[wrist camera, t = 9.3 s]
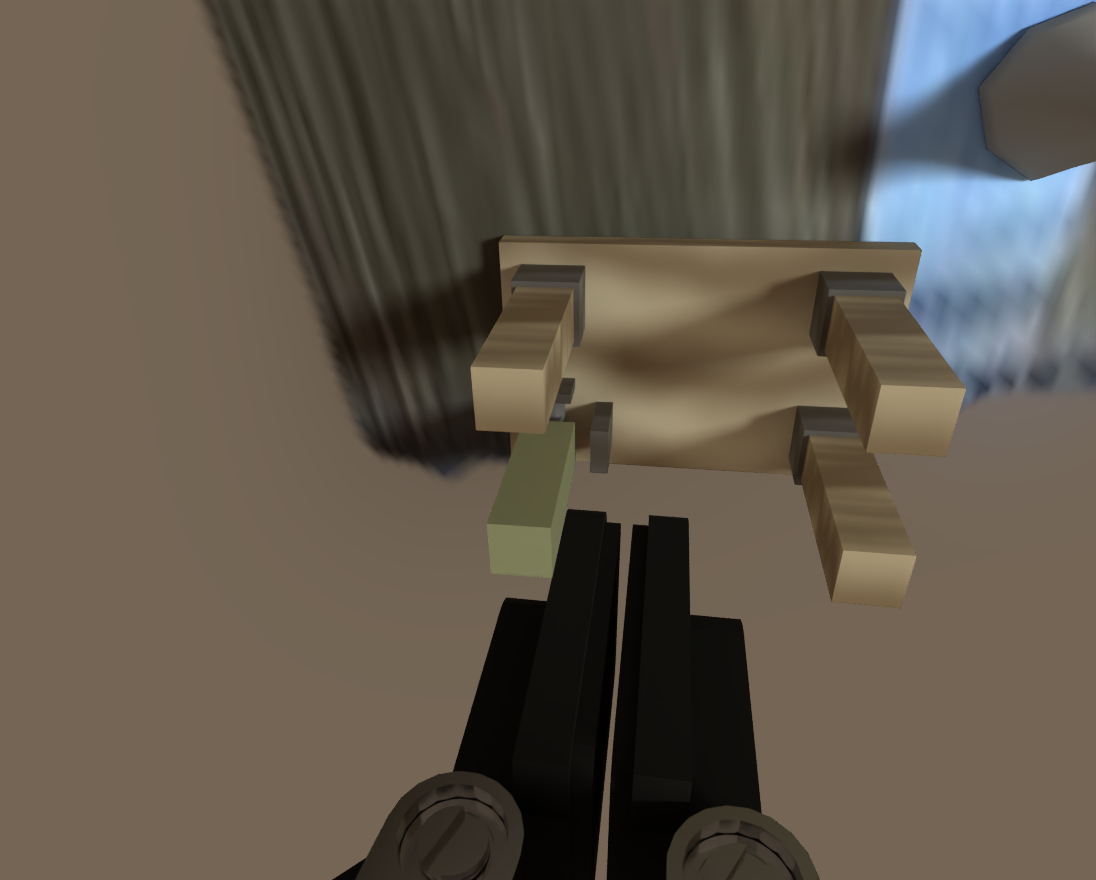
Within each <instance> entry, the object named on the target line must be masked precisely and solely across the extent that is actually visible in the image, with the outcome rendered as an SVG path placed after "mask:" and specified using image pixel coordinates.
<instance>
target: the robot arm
mask: <svg viewBox="0 0 1096 880" xmlns="http://www.w3.org/2000/svg"><path fill="white" fill-rule="evenodd" d="M606 516H607V515H606V512H599V511H586V510H573V509H568V510H567V513H566V517H565V522H564V526H563V531H562V536H561V540H560V544H559V549H558V553H557V558H556V562H555V567H554V572H553V576H552V581H551V585H550V590H549V594H548V599H547V601H538V600H527V599H517V598H506V599H505V600H504V602H503V604H502V607H501V610H500V613H499V616H498V620H497V623H496V627H495V630H494V634H493V637H492V640H491V644H490V647H489V650H488V654H487V657H486V661H485V664H484V667H483V671H482V674H481V678H480V681H479V684H478V688H477V691H476V695H475V698H474V702H473V705H472V708H471V712H470V715H469V719H468V722H467V726H466V729H465V733H464V736H463V739H462V742H461V746H460V749H459V753H458V756H457V759H456V763H455V766H454V770H453V772H450V773H444V774H438V775H436V776H434V777H431V778H429V779H427V780H425V781H423V782H421V783H418V784H417V785H416V786H415V787H413V788H412V789H411V790H410V791H409V792H407V793H406V794H405V795H404V796H403V797H401V799H400V800H399V801H398V803H397V804H396V806H395V807H394V808H393V810H392V811H391V813H390V814H389V816H388V817H387V819H386V821H385V823H384V825H383V827H382V829H381V831H380V833H379V835H378V836H377V838H376V840H375V842H374V844H373V846H372V848H371V850H370V852H369V854H368V856H367V858H365V859H364V860H362V861H361V862H359V863H357V864H356V865H354V866H353V867H351V868H350V869H348V870H347V871H345V872H344V873H342V874H341V875H339V876H338V877H336V878H334V879H333V880H595V874H596V873H595V872H596V863H597V853H598V843H599V833H600V822H601V812H602V801H603V791H604V781H605V771H606V760H607V750H608V739H609V728H610V719H611V709H612V698H613V688H614V677H615V662H616V638H617V613H618V612H617V611H618V587H619V560H620V536H621V524H620V523H609V522H606V521H607V517H606ZM688 522H689V521H688V518H679V517H666V516H653V515H649V526H647V525H633V530H632V541H631V553H630V564H629V574H628V585H627V597H626V607H625V619H624V630H623V641H622V652H621V663H620V674H619V686H618V696H617V707H616V718H615V729H614V730H615V731H614V740H613V753H612V768H611V783H610V807H609V833H608V859H607V880H820V879H819V876H818V874H817V871H816V869H815V867H814V865H813V863H812V861H811V858H810V856H809V854H808V852H807V851H806V850H805V849H804V847H803V846H802V845H801V844H800V843H799V841H798V840H797V839H796V838H795V836H794V835H793V834H792V833H791V832H790V831H788V830H787V829H786V828H784V827H783V826H782V825H780V824H779V823H778V822H777V821H775V820H774V819H772V818H771V817H769V816H766V815H764V814H762V812H761V802H760V792H759V782H758V772H757V762H756V752H755V742H754V732H753V721H752V711H751V701H750V691H749V682H748V671H747V661H746V651H745V642H744V632H743V625H742V622H741V620H740V619H730V618H719V617H709V616H698V615H690V587H689V586H690V585H689V584H690V583H689V582H690V581H689V523H688Z"/></svg>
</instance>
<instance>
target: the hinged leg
mask: <svg viewBox="0 0 1096 880" xmlns="http://www.w3.org/2000/svg"><path fill="white" fill-rule="evenodd" d="M574 469H575V422H566V416H565V404H558V403H554V406H553V409H552V413H551V416H550V419H549V422H548V425H547V429H546V432H545V434H534V433H519V434H518V437H517V440H516V442H515V445H514V448H513V451H512V454H511V457H510V459H509V462H508V465H507V468H506V471H505V474H504V477H503V479H502V483H501V485H500V488H499V491H498V494H497V497H496V499H495V502H494V505H493V508H492V511H491V514H490V516H489V519H488V522H487V531H488V542H489V555H490V567H491V573H495V574H507V575H520V576H533V577H546V578H552V576H553V572H554V567H555V562H556V557H557V552H558V547H559V542H560V537H561V533H562V528H563V522H564V518H565V513H566V508H567V503H568V498H569V493H570V489H571V484H572V479H573V474H574Z"/></svg>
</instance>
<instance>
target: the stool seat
mask: <svg viewBox="0 0 1096 880" xmlns="http://www.w3.org/2000/svg"><path fill="white" fill-rule="evenodd" d="M921 252H922V250H921V249H920V248H919V247H918V246H917V245H916V243H913V242H856V241H799V240H742V239H685V238H628V237H571V236H514V235H504V236H503V237H502V239H501V240H500V241H499V254H500V271H501V288H502V305H503V311H502V313H501V315H500V317H499V318H498V320H497V322H496V324H495V325H494V327H493V329H492V330H491V332H490V334H489V336H488V337H487V339H486V341H485V343H484V344H483V346H482V348H481V350H480V351H479V353H478V355H477V357H476V358H475V360H474V362H473V364H472V365H471V377H472V389H473V400H474V412H475V424H476V430H482V431H499V432H510V442H511V454H512V451H513V448H514V445H515V442H516V440H517V437H518V434H519V433H534V434H545V432H546V429H547V425H548V422H549V419H550V416H551V413H552V409H553V406H554V403H558V404H565V416H566V422H575V461H578V462H590V472H593V473H607V472H608V465H609V464H626V465H641V466H658V467H675V468H691V469H706V470H722V471H739V472H754V473H770V474H786V475H793V479H794V483H795V485H802V486H803V490H804V494H805V498H806V502H807V506H808V510H809V514H810V518H811V522H812V526H813V530H814V534H815V538H816V542H817V546H818V550H819V554H820V558H821V562H822V566H823V570H824V574H825V578H826V582H827V586H828V590H829V594H830V598H831V602H836V603H848V604H859V605H871V606H883V607H894V608H901V607H902V604H903V600H904V597H905V594H906V590H907V587H908V583H909V580H910V577H911V573H912V570H913V566H914V563H915V560H916V553H915V551H914V549H913V546H912V544H911V542H910V539H909V537H908V535H907V532H906V530H905V527H904V525H903V523H902V520H901V519H900V516H899V514H898V511H897V509H896V506H895V504H894V502H893V500H892V497H891V495H890V492H889V490H888V487H887V485H886V483H885V481H884V478H883V476H882V474H881V471H880V469H879V466H878V464H877V462H876V459H875V457H874V453H886V454H903V455H921V456H939V457H946V455H947V451H948V448H949V445H950V441H951V438H952V434H953V431H954V428H955V425H956V421H957V417H958V414H959V411H960V408H961V404H962V401H963V398H964V394H965V391H966V388H965V386H964V385H963V384H962V382H961V381H960V380H959V378H958V377H957V376H956V374H955V373H954V372H953V370H952V369H951V367H950V366H949V365H948V363H947V362H946V361H945V359H944V358H943V357H942V355H941V354H940V353H939V351H938V350H937V348H936V347H935V346H934V344H933V343H932V342H931V340H930V339H929V338H928V336H927V335H926V333H925V332H924V331H923V329H922V328H921V327H920V325H919V324H918V323H917V321H916V320H915V319H914V317H913V316H912V314H911V313H910V312H909V310H908V307H909V303H910V299H911V295H912V290H913V286H914V282H915V278H916V274H917V269H918V265H919V261H920V257H921Z"/></svg>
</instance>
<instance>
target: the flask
mask: <svg viewBox="0 0 1096 880" xmlns="http://www.w3.org/2000/svg"><path fill="white" fill-rule="evenodd" d="M978 89H979V97H980V104H981V112H982V120H983V127H984V135H985V143H986V149H988V150H989V151H991V152H992V153H993V154H995V155H996V156H997V157H999V158H1000V159H1002V160H1003V161H1004V162H1006V163H1007V164H1008V165H1010V166H1011V167H1012V168H1014V169H1015V170H1017V171H1018V172H1019V173H1021V174H1022V175H1023V176H1025V177H1026V178H1027V179H1029V180H1030V181H1032V180H1036V179H1040V178H1043V177H1046V176H1049V175H1052V174H1055V173H1058V172H1061V171H1064V170H1067V169H1070V168H1073V167H1077V166H1080V165H1084V164H1088V163H1091V162H1095V161H1096V2H1094V3H1091V4H1089V5H1086V6H1084V7H1081V8H1079V9H1076V10H1074V11H1071V12H1068V13H1066V14H1063V15H1061V16H1058V17H1056V18H1053V19H1050V20H1048V21H1045V22H1043V23H1040V24H1038V25H1035V26H1033V27H1030V28H1029V29H1028V30H1027V31H1026V32H1025V33H1024V35H1023V36H1022V37H1021V38H1020V39H1019V40H1018V42H1017V43H1016V44H1015V45H1014V46H1013V48H1012V49H1011V50H1010V51H1009V52H1008V53H1007V55H1006V56H1005V57H1004V58H1003V59H1002V61H1001V62H1000V63H999V64H998V65H997V66H996V68H995V69H994V70H993V71H992V72H991V74H990V75H989V76H988V77H987V78H986V79H985V81H984V82H983V83H982V84H981V85H980V87H979V88H978Z"/></svg>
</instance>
